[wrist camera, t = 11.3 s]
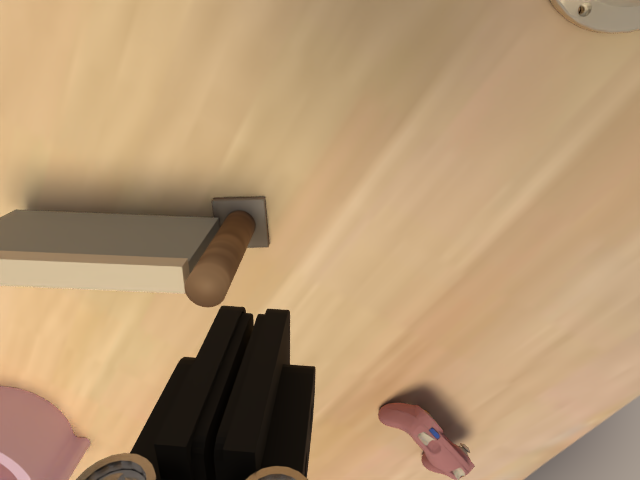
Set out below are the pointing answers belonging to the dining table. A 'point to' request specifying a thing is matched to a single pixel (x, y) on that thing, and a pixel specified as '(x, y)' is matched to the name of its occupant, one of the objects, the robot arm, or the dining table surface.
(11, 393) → the clip
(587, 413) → the dining table surface
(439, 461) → the video game controller
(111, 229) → the bar
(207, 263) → the wooden pegs
